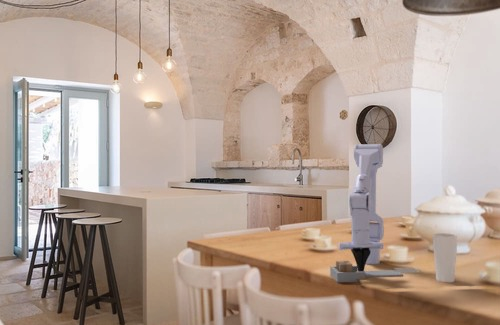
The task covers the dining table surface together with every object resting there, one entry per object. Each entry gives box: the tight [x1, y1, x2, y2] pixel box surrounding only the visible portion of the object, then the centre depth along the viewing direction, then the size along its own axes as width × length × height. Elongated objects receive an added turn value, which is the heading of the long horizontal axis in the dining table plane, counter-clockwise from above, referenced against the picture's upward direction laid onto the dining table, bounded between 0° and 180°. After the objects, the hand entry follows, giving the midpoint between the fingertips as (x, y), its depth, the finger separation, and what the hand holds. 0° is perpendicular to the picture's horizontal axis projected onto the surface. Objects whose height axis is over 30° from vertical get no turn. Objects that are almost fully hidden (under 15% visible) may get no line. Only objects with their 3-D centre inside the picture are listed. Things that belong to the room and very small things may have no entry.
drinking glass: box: [432, 232, 458, 283], centre depth 147 cm, size 7×7×15 cm
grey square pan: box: [329, 265, 404, 283], centre depth 155 cm, size 9×22×3 cm, turn 95°
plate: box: [393, 266, 421, 274], centre depth 161 cm, size 7×7×1 cm
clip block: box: [335, 260, 353, 272], centre depth 154 cm, size 5×5×4 cm
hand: (360, 271), depth 155 cm, fingers closed
